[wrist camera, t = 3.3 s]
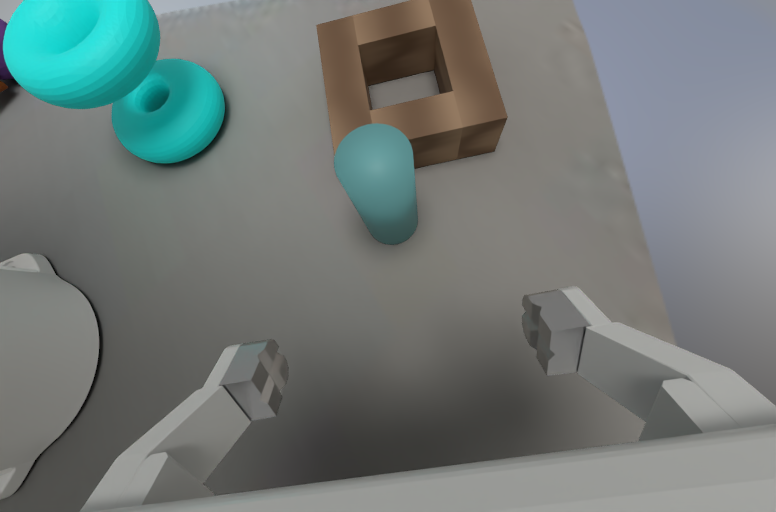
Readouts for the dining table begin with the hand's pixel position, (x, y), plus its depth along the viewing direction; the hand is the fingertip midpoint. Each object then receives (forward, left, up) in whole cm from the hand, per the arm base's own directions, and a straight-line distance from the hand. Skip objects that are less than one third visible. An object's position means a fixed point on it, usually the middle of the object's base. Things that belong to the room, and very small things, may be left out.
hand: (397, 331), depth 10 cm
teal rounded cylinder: (0, +8, -12) cm, 15 cm away
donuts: (-18, +22, -12) cm, 31 cm away
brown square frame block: (+3, +18, -12) cm, 22 cm away
